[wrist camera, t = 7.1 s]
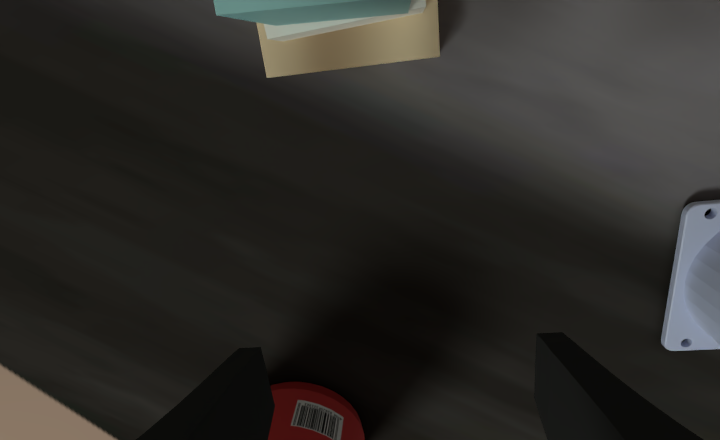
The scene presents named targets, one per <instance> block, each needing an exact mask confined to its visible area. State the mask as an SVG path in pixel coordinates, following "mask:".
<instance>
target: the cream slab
mask: <svg viewBox="0 0 720 440" xmlns="http://www.w3.org/2000/svg"><path fill="white" fill-rule="evenodd" d="M425 8H426V0H411V3H410V7H409V11H408V13H406V14H395V15H385V16H374V17H364V18H353V19H342V20H332V21H321V22H311V23H300V24H290V25H279V26H274V25H268V24H264V27H265V32H266V36H267V39H269V40H276V41H288V40H293V39H298V38H302V37H307V36H312V35H317V34H322V33H327V32H332V31H337V30H342V29H346V28H351V27H356V26H361V25H366V24H371V23H376V22H381V21H386V20H391V19H395V18H400V17H405V16H410V15H415V14H420V13H423V11H424V9H425Z"/></svg>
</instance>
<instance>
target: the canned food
mask: <svg viewBox="0 0 720 440" xmlns="http://www.w3.org/2000/svg"><path fill="white" fill-rule="evenodd" d="M270 387H271V391H272V395H273V399H274V403H275V409H274V414H273V418H272V423H271V428H270V432H269V436H268V440H365V437H364V431H363V428H362V424H361V421H360V419H359V416H358V414H357V412H356V411H355V409H354V408H353V407H352V405H351V404H350V403H349V402H348V401H346V400H345V399H344V398H343V397H342V396H340V395H339V394H337V393H335V392H334V391H332V390H330V389H327V388H325V387H323V386H319V385H316V384H312V383H306V382H283V383H278V384H274V385H271V386H270Z"/></svg>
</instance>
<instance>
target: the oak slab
mask: <svg viewBox="0 0 720 440" xmlns="http://www.w3.org/2000/svg"><path fill="white" fill-rule="evenodd" d="M257 28H258V33H259V38H260V44H261V49H262V55H263V60H264V65H265V71H266V76H267V78H270V77H278V76H287V75H295V74H303V73H311V72H319V71H327V70H335V69H343V68H352V67H360V66H368V65H376V64H384V63H392V62H400V61H409V60H417V59H425V58H433V57H440V45H439V23H438V0H426V8H425V9H424V11H423V13H420V14H415V15H410V16H405V17H400V18H395V19H391V20H386V21H381V22H376V23H371V24H366V25H361V26H356V27H351V28H346V29H342V30H337V31H332V32H327V33H322V34H317V35H312V36H307V37H302V38H298V39H293V40H288V41H276V40H269V39H267V36H266V32H265V27H264V24H263V23H257Z"/></svg>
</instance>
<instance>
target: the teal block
mask: <svg viewBox="0 0 720 440" xmlns="http://www.w3.org/2000/svg"><path fill="white" fill-rule="evenodd" d="M410 3H411V0H214V6H215V11H216V15H218V16H224V17H230V18H235V19H241V20H246V21H252V22H257V23H263V24H268V25H274V26H279V25H290V24H300V23H311V22H321V21H332V20H342V19H353V18H364V17H374V16H385V15H395V14H406V13H408V11H409V7H410Z"/></svg>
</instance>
